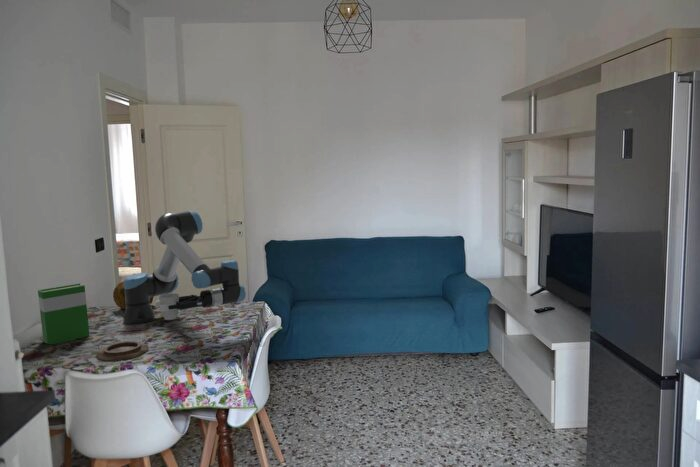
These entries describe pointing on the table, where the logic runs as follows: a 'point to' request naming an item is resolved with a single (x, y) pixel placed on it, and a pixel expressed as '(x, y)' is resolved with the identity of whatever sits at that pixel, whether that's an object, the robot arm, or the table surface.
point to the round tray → (116, 358)
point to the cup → (168, 300)
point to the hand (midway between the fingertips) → (157, 306)
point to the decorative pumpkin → (121, 296)
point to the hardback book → (63, 313)
